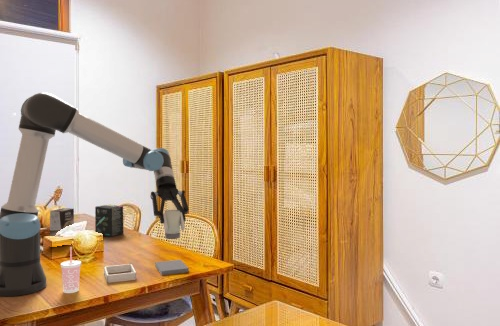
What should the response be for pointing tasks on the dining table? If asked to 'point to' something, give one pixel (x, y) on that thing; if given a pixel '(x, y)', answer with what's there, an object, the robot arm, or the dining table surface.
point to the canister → (173, 224)
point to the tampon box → (109, 220)
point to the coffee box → (60, 219)
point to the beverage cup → (71, 274)
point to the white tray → (119, 276)
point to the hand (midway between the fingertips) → (174, 229)
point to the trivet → (171, 267)
